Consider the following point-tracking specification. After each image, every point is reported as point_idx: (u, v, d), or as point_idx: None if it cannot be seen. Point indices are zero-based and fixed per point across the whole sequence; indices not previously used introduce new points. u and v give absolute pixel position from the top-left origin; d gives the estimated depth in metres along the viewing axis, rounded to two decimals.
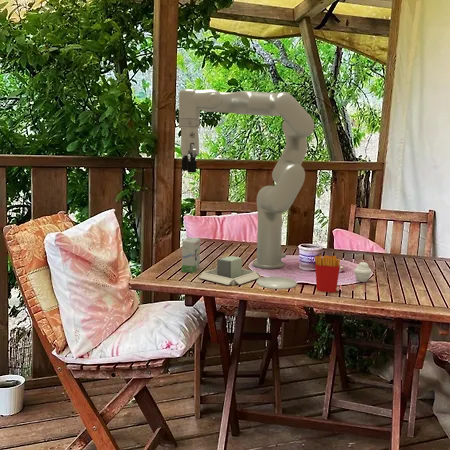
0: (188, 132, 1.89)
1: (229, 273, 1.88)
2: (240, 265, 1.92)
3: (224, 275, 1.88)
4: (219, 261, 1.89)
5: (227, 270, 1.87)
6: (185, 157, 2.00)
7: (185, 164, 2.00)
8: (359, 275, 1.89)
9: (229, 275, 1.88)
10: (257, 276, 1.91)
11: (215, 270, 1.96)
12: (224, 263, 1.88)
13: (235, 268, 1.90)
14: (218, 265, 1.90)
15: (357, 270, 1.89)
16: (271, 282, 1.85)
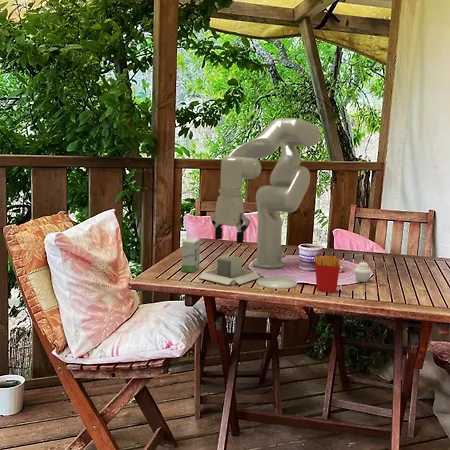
0: None
1: (229, 273, 1.88)
2: (240, 265, 1.92)
3: (224, 275, 1.88)
4: (219, 261, 1.89)
5: (227, 270, 1.87)
6: None
7: None
8: (359, 275, 1.89)
9: (229, 275, 1.88)
10: (257, 276, 1.91)
11: (215, 270, 1.96)
12: (224, 263, 1.88)
13: (235, 268, 1.90)
14: (218, 265, 1.90)
15: (357, 270, 1.89)
16: (271, 282, 1.85)
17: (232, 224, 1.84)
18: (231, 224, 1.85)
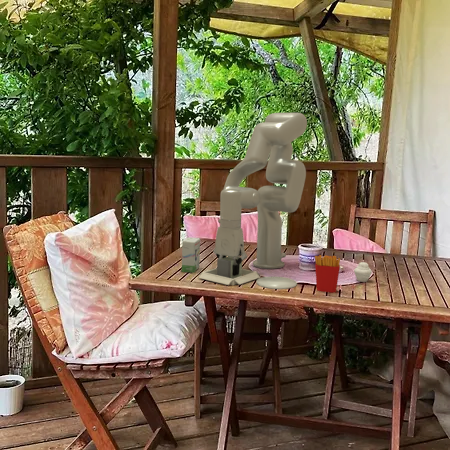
0: None
1: (229, 273, 1.88)
2: (240, 265, 1.92)
3: (224, 275, 1.88)
4: (219, 261, 1.89)
5: (227, 270, 1.87)
6: None
7: None
8: (359, 275, 1.89)
9: (229, 275, 1.88)
10: (257, 276, 1.91)
11: (215, 270, 1.96)
12: (224, 263, 1.88)
13: None
14: (218, 265, 1.90)
15: (357, 270, 1.89)
16: (271, 282, 1.85)
17: (232, 255, 1.87)
18: (231, 255, 1.87)
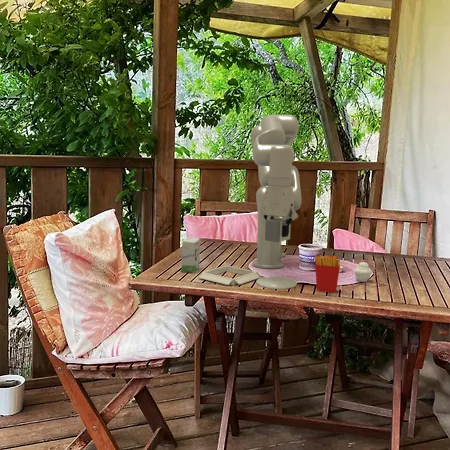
0: None
1: (278, 234, 1.79)
2: (289, 227, 1.83)
3: (273, 236, 1.79)
4: (268, 222, 1.80)
5: (276, 231, 1.78)
6: None
7: None
8: (359, 275, 1.89)
9: (278, 236, 1.79)
10: (257, 276, 1.91)
11: (215, 270, 1.96)
12: (273, 223, 1.79)
13: None
14: (266, 226, 1.80)
15: (357, 270, 1.89)
16: (271, 282, 1.85)
17: (282, 215, 1.77)
18: (281, 215, 1.78)
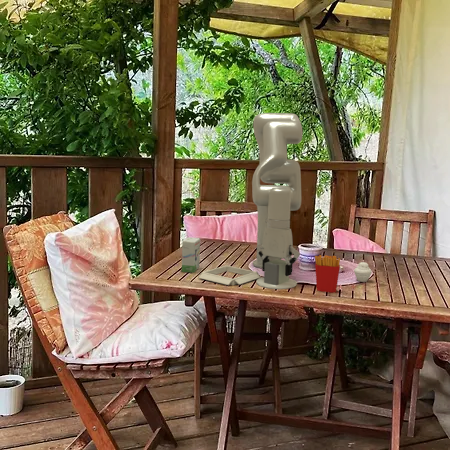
0: None
1: (277, 277, 1.81)
2: None
3: (272, 279, 1.82)
4: (266, 265, 1.82)
5: (275, 274, 1.81)
6: None
7: None
8: (359, 275, 1.89)
9: (277, 279, 1.81)
10: (257, 276, 1.91)
11: (215, 270, 1.96)
12: (272, 267, 1.81)
13: (283, 272, 1.84)
14: (265, 269, 1.83)
15: (357, 270, 1.89)
16: None
17: (281, 256, 1.80)
18: (280, 256, 1.80)
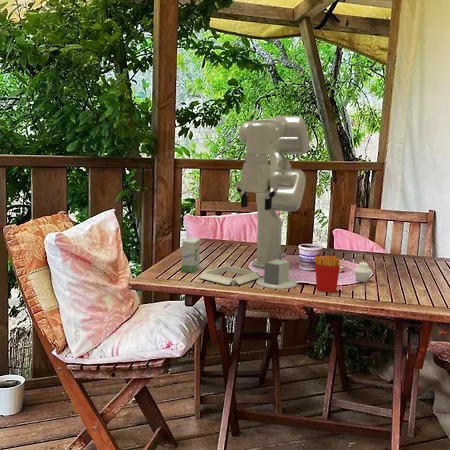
0: None
1: (277, 277, 1.81)
2: (287, 269, 1.86)
3: (272, 279, 1.82)
4: (266, 265, 1.82)
5: (275, 274, 1.81)
6: None
7: None
8: (359, 275, 1.89)
9: (277, 279, 1.81)
10: (257, 276, 1.91)
11: (215, 270, 1.96)
12: (272, 267, 1.81)
13: (283, 272, 1.84)
14: (265, 269, 1.83)
15: (357, 270, 1.89)
16: None
17: (260, 191, 1.82)
18: (259, 191, 1.82)
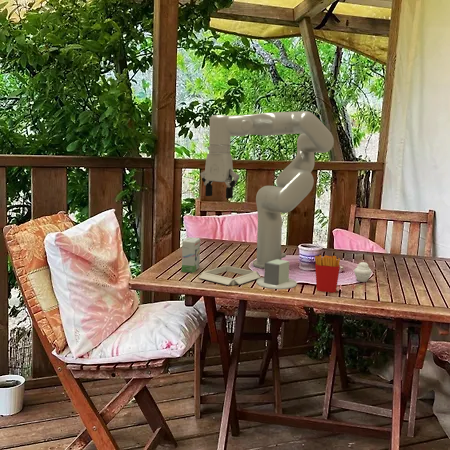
0: None
1: (277, 277, 1.81)
2: (287, 269, 1.86)
3: (272, 279, 1.82)
4: (266, 265, 1.82)
5: (275, 274, 1.81)
6: None
7: None
8: (359, 275, 1.89)
9: (277, 279, 1.81)
10: (257, 276, 1.91)
11: (215, 270, 1.96)
12: (272, 267, 1.81)
13: (283, 272, 1.84)
14: (265, 269, 1.83)
15: (357, 270, 1.89)
16: None
17: (221, 179, 1.90)
18: (220, 180, 1.90)
